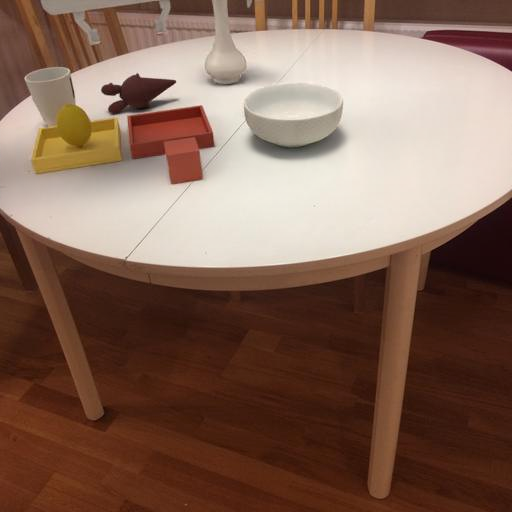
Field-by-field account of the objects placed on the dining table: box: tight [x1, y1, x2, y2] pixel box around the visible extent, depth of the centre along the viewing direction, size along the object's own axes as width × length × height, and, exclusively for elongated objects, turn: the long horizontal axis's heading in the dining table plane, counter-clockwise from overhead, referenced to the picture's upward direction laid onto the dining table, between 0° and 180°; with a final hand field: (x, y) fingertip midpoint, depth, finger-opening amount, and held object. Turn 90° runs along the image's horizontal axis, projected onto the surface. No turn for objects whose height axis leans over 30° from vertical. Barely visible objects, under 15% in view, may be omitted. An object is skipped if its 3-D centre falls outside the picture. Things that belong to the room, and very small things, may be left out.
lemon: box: [57, 103, 92, 148], centre depth 90 cm, size 6×6×8 cm
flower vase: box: [204, 0, 261, 85], centre depth 110 cm, size 13×18×25 cm
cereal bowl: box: [243, 82, 344, 148], centre depth 90 cm, size 17×17×7 cm
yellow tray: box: [30, 116, 123, 175], centre depth 92 cm, size 14×13×3 cm
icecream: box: [100, 72, 177, 115], centre depth 106 cm, size 7×7×15 cm
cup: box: [24, 66, 77, 127], centre depth 100 cm, size 8×8×10 cm
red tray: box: [126, 104, 216, 160], centre depth 95 cm, size 14×13×3 cm
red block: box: [164, 137, 204, 185], centre depth 82 cm, size 5×5×5 cm
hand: (129, 38), depth 75 cm, fingers open, 8 cm apart
